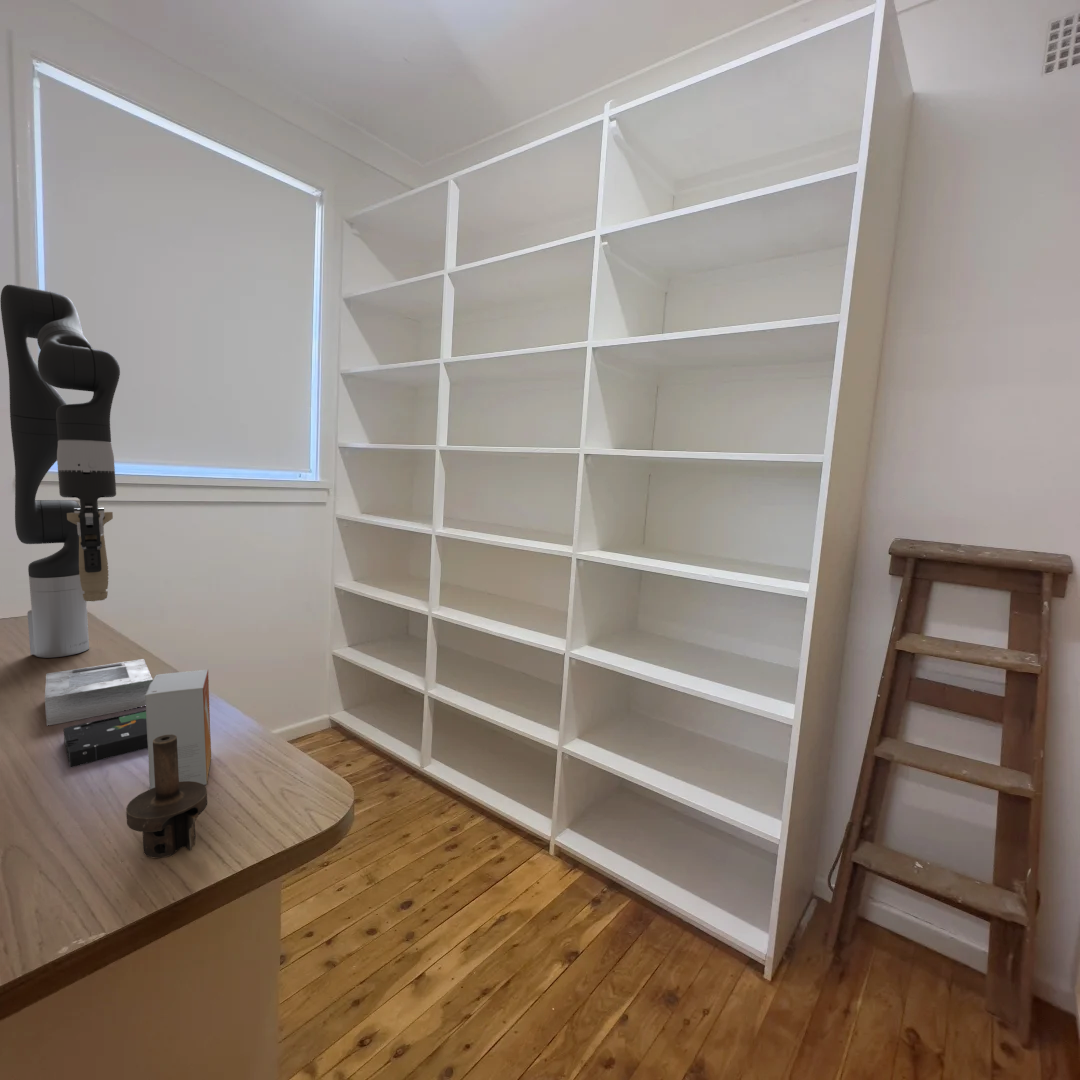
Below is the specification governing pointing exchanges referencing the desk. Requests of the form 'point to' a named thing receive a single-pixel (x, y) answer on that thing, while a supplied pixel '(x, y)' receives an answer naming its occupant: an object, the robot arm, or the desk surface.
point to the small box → (181, 721)
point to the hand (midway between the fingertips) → (93, 569)
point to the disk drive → (105, 738)
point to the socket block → (95, 691)
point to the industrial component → (167, 804)
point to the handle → (93, 581)
